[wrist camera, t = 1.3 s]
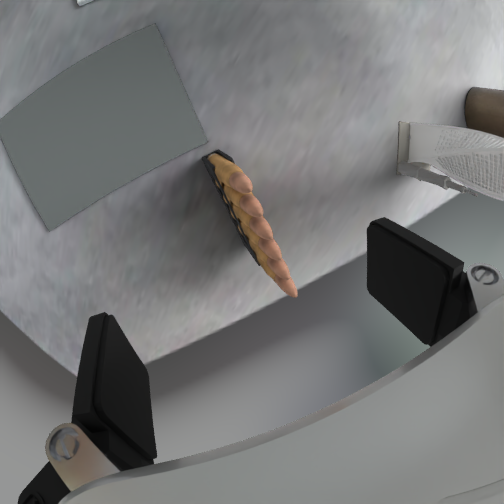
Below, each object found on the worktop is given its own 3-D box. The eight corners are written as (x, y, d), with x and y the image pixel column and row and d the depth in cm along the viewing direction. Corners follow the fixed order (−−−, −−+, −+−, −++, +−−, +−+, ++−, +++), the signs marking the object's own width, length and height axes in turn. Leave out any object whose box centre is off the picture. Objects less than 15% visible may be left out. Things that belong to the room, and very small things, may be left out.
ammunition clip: (201, 157, 27) (229, 183, 16) (218, 148, 27) (257, 169, 17) (245, 246, 32) (288, 311, 22) (260, 238, 32) (310, 299, 22)
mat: (155, 25, 20) (155, 23, 19) (207, 141, 26) (208, 142, 26) (-2, 123, 18) (-5, 124, 18) (51, 229, 25) (49, 231, 24)
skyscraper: (397, 110, 31) (613, 170, 6) (435, 117, 32) (614, 174, 8) (395, 173, 34) (590, 272, 10) (432, 173, 36) (597, 254, 12)
